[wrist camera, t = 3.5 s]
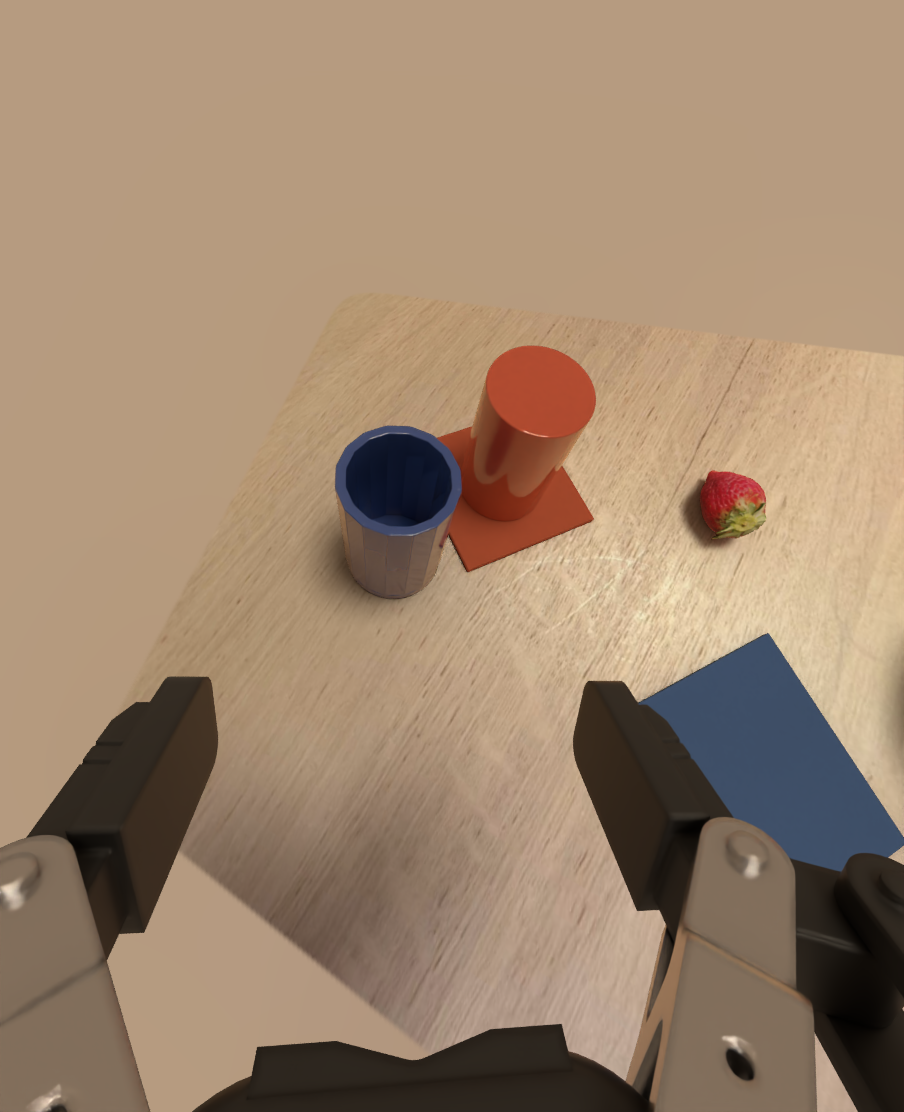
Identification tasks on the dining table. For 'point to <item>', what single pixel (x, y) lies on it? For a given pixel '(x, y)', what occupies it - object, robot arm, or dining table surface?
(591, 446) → the dining table surface
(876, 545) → the dining table surface
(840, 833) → the blue mat
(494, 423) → the tall red cylinder
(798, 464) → the dining table surface
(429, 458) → the blue cup
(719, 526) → the fruit
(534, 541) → the red mat
